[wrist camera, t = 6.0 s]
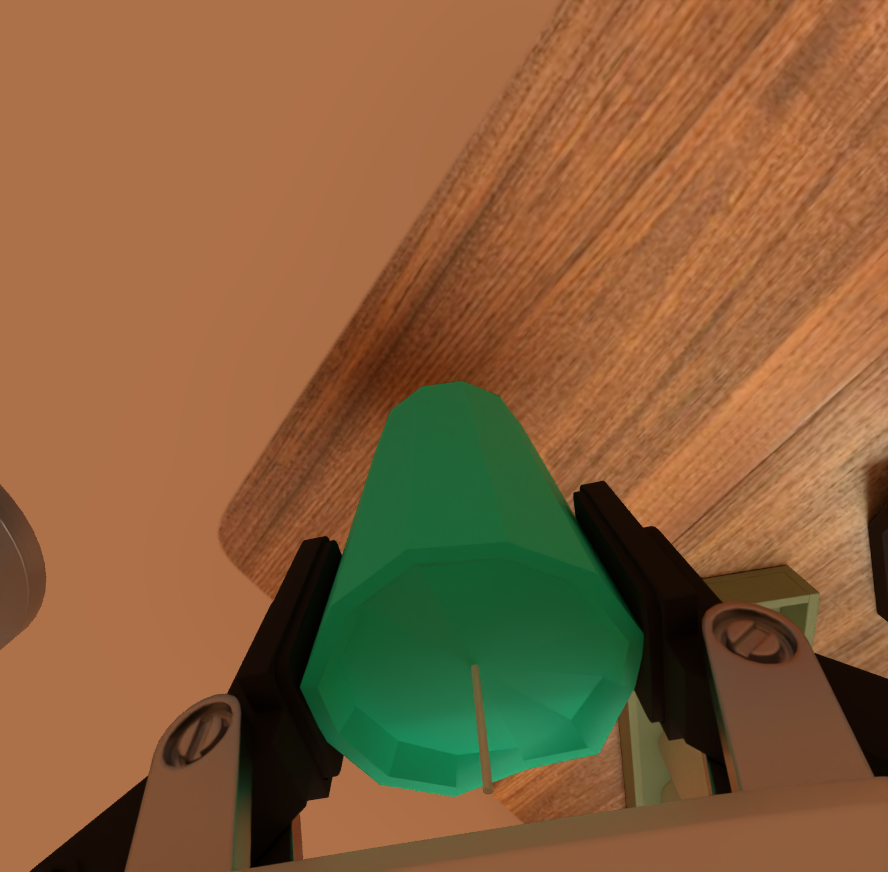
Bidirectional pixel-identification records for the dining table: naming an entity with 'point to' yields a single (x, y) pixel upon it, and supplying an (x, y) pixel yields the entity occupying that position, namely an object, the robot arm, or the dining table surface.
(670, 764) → the cream candle
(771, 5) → the dining table surface
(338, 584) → the candle
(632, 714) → the tray
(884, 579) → the calculator
